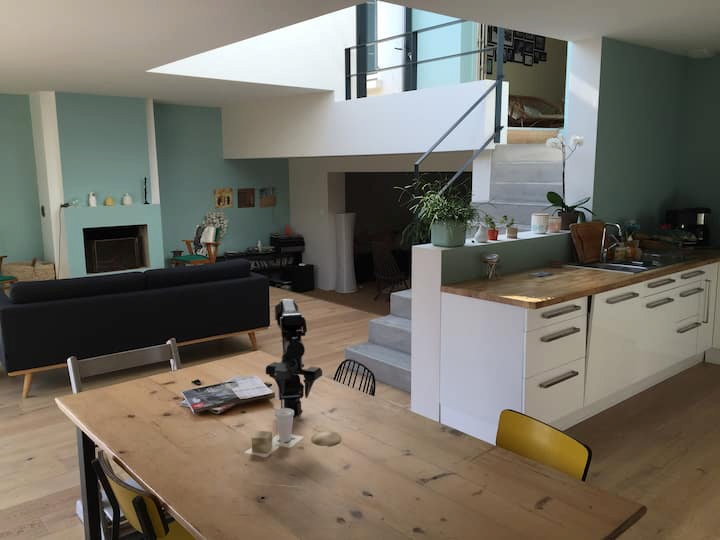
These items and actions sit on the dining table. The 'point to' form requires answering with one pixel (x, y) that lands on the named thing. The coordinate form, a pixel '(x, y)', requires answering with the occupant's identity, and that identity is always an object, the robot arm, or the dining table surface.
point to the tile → (263, 453)
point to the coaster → (326, 438)
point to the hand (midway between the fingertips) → (294, 395)
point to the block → (261, 442)
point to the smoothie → (284, 422)
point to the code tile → (286, 444)
